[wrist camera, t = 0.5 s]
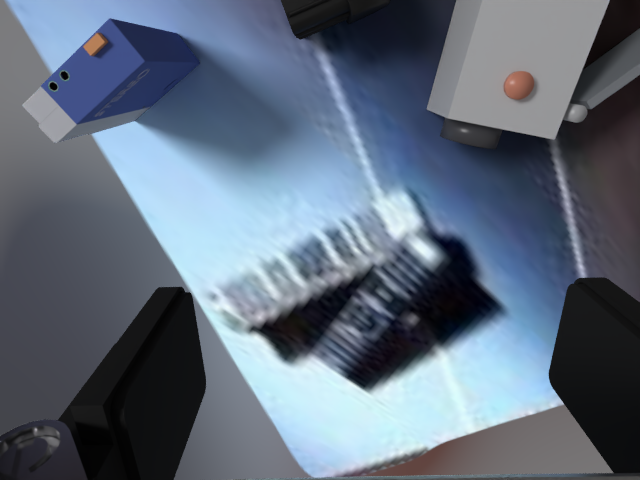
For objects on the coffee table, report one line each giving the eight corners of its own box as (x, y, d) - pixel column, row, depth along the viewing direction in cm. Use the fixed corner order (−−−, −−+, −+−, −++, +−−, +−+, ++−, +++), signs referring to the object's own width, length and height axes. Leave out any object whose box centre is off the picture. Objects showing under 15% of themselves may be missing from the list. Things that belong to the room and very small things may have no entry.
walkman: (177, 32, 34) (105, 16, 23) (200, 63, 35) (143, 61, 23) (109, 94, 36) (13, 107, 24) (133, 121, 36) (51, 146, 25)
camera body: (480, -89, 31) (524, -131, 24) (586, -64, 31) (657, -99, 24) (421, 128, 36) (443, 142, 30) (511, 146, 37) (551, 163, 30)
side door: (661, 7, 33) (730, -5, 27) (667, 20, 33) (737, 11, 28) (528, 105, 36) (567, 112, 30) (535, 116, 36) (574, 126, 30)
